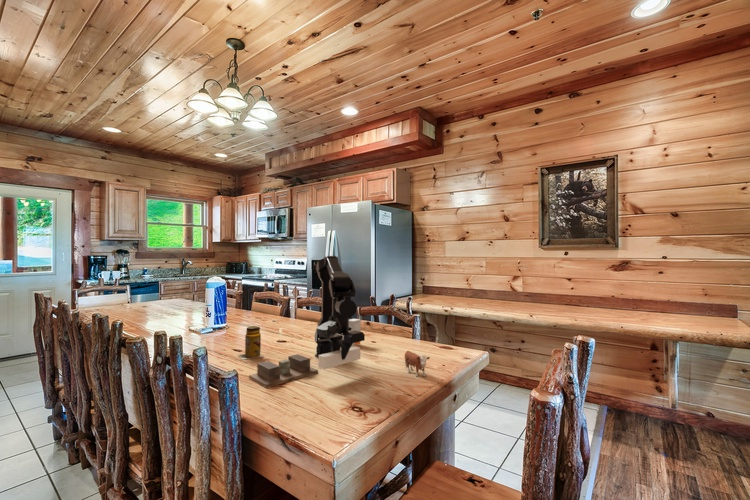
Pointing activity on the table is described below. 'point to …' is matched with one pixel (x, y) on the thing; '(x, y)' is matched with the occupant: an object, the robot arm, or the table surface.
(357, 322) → the skincare box
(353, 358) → the frame bar
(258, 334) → the condiment
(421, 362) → the bull figurine
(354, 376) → the table surface
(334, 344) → the robot arm
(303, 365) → the display stand
